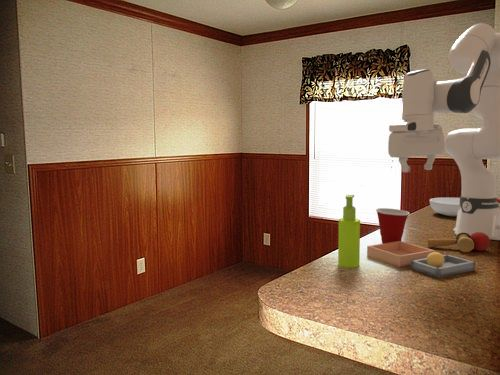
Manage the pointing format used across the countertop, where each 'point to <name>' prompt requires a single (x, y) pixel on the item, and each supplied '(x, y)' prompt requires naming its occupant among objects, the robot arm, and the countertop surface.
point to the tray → (444, 266)
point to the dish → (397, 253)
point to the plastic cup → (391, 224)
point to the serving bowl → (446, 206)
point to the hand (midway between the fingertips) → (417, 170)
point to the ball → (435, 259)
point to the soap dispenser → (349, 236)
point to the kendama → (464, 242)
